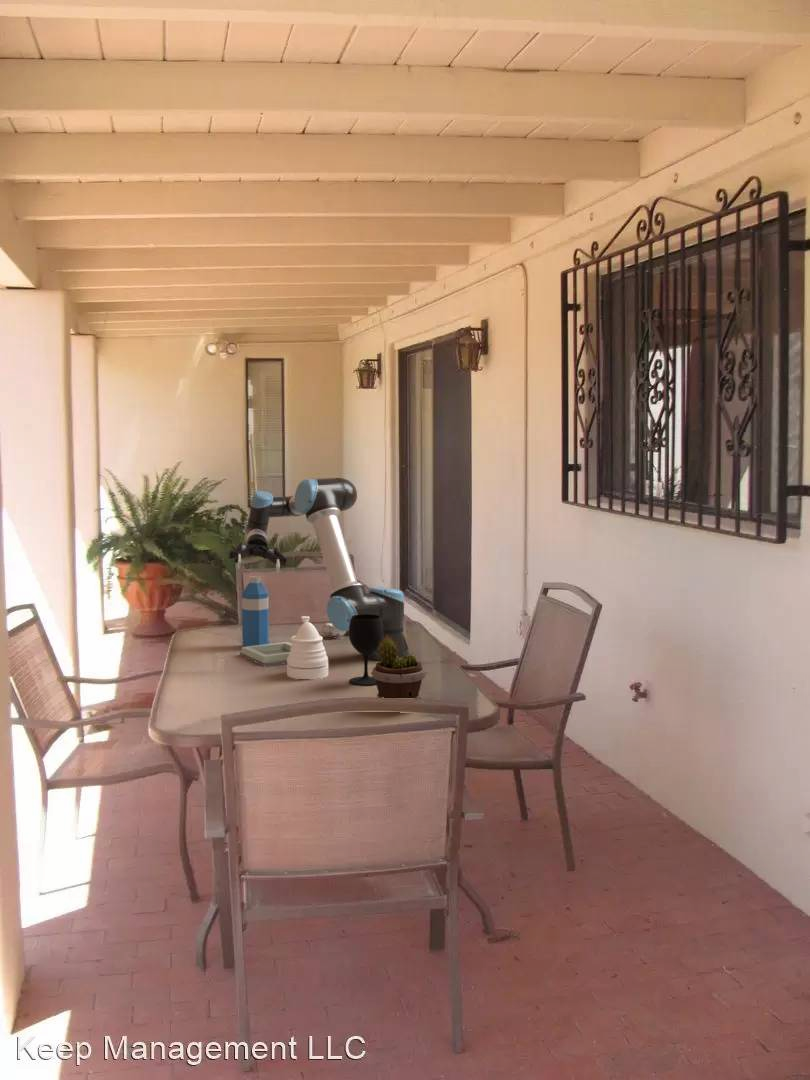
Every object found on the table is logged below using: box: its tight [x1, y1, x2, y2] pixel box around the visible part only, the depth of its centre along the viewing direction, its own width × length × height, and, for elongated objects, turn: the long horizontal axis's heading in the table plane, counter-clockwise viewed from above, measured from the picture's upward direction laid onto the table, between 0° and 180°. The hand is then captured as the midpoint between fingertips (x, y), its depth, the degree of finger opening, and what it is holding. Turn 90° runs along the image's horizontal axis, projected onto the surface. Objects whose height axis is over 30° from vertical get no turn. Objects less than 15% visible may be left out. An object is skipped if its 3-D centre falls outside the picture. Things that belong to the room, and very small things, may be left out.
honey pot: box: [286, 615, 329, 680], centre depth 323 cm, size 13×13×18 cm
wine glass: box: [348, 614, 383, 687], centre depth 314 cm, size 10×10×20 cm
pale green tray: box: [239, 641, 293, 667], centre depth 347 cm, size 20×17×3 cm
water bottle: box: [241, 575, 270, 647], centre depth 361 cm, size 9×9×25 cm
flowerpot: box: [370, 634, 428, 700], centre depth 288 cm, size 14×15×20 cm
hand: (258, 568), depth 360 cm, fingers open, 13 cm apart
